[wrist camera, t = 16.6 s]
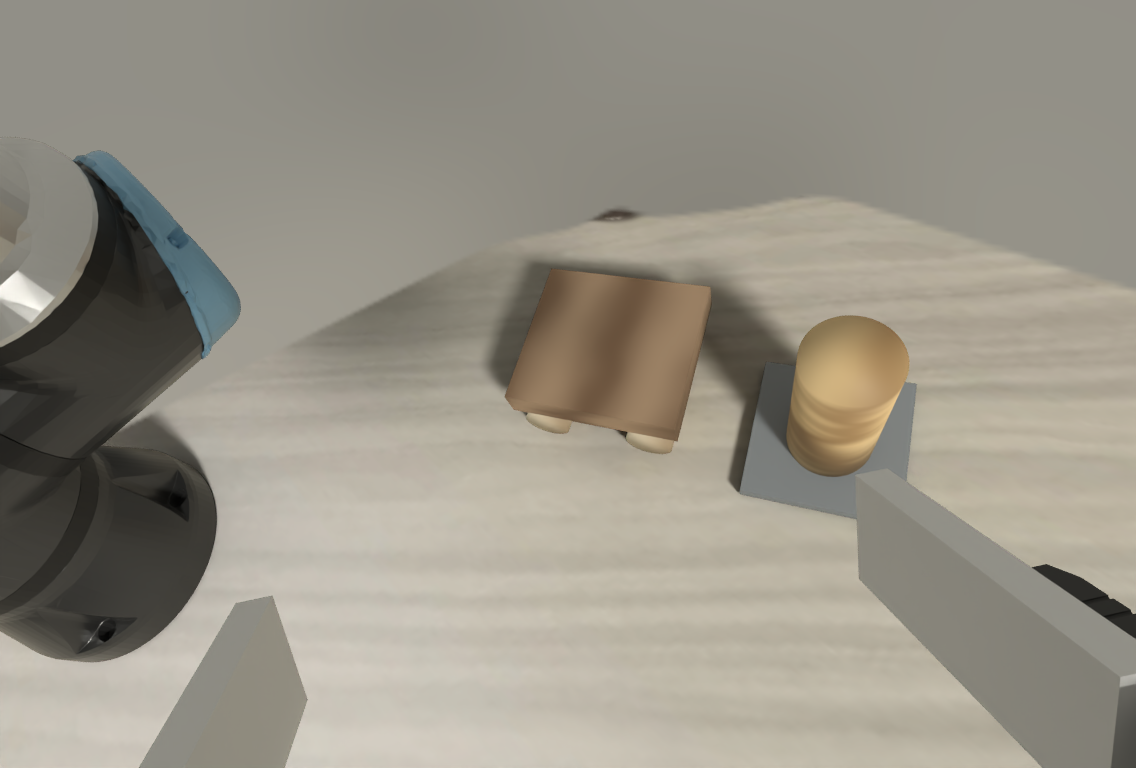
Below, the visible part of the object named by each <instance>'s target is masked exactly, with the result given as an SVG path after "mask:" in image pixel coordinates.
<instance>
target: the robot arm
mask: <svg viewBox="0 0 1136 768" xmlns="http://www.w3.org/2000/svg"><path fill="white" fill-rule="evenodd" d="M240 308H241V306H240V299H239V297H238V294H237V292H236V291H235V289H234V288H233V286H232V285H231V284H230V282H228V280H227V278H226V277H225V276H224V275H223V274H222V272H221V271H220V270H219V269H218V267H217V266H216V265H215V264H214V263H213V262H212V260H211V259H210V258H209V257H208V256H207V255H206V254H205V252H204V251H203V250H202V249H201V248H200V247H199V246H198V245H197V243H196V242H195V241H194V240H193V239H192V238H191V237H190V236H189V235H187V234H186V233H185V232H184V231H183V228H182V227H181V226H180V225H179V224H178V223H177V222H176V221H175V220H174V219H173V217H172V216H171V215H170V213H169V212H167V210H166V209H165V208H164V207H163V206H162V205H161V204H160V203H159V202H158V200H156V198H155V197H154V196H153V195H152V194H151V193H150V192H149V191H148V190H147V189H146V188H145V187H144V186H143V185H142V184H141V183H140V182H139V181H138V180H137V179H136V178H135V177H134V176H133V175H132V174H131V173H130V172H129V171H128V170H127V169H126V168H125V167H124V166H123V165H122V164H121V163H120V162H119V161H118V160H117V159H115V158H114V157H113V156H112V155H110V154H109V153H107V152H103V151H93V152H91V153H89V154H87V155H82V156H77V157H76V158H75V159H74V160H73V161H72V160H71V159H70V158H68V157H67V156H66V155H64V154H63V153H61V152H59V151H57V150H56V149H54V148H52V147H50V146H48V145H46V144H44V143H41V142H38V141H34V140H31V139H24V138H16V137H0V631H1V632H3V633H4V634H6V635H8V636H10V637H11V638H13V639H15V640H16V641H18V642H20V643H22V644H23V645H25V646H27V647H28V648H30V649H32V650H34V651H35V652H37V653H39V654H42V655H44V656H47V657H51V658H55V659H61V660H70V661H80V662H101V661H107V660H111V659H114V658H117V657H120V656H123V655H125V654H128V653H130V652H132V651H134V650H135V649H137V648H139V647H141V646H142V645H144V644H145V643H147V642H148V641H150V640H151V639H152V638H153V637H155V636H156V635H157V634H158V633H160V632H161V631H162V630H163V629H164V628H165V627H166V626H167V625H168V624H169V623H170V622H171V621H172V620H173V619H174V618H175V617H176V616H177V614H178V613H179V612H180V611H181V610H182V608H183V607H184V606H185V604H186V603H187V602H188V600H189V599H190V597H191V596H192V594H193V593H194V591H195V589H196V588H197V586H198V584H199V582H200V580H201V578H202V576H203V574H204V572H205V569H206V567H207V564H208V561H209V558H210V555H211V552H212V548H213V544H214V538H215V531H216V510H215V504H214V499H213V496H212V493H211V490H210V488H209V486H208V484H207V482H206V481H205V479H204V478H203V477H202V476H201V474H200V473H199V472H198V471H197V470H195V469H194V468H193V467H191V466H190V465H188V464H186V463H184V462H182V461H180V460H178V459H176V458H173V457H171V456H169V455H167V454H165V453H162V452H158V451H154V450H150V449H140V448H126V447H112V446H101V445H102V444H104V443H105V442H106V441H107V440H108V439H109V438H111V437H112V436H113V435H114V434H115V433H116V432H117V431H119V430H120V429H121V428H122V427H123V426H124V425H126V424H127V423H128V422H129V421H130V420H131V419H133V418H134V417H135V416H136V415H137V414H138V413H139V412H140V411H142V410H143V409H144V408H145V407H146V406H147V405H149V404H150V403H151V402H152V401H153V400H154V399H156V398H157V397H158V396H159V395H160V394H161V393H163V392H164V391H165V390H166V389H167V388H168V387H169V386H171V385H172V384H173V383H174V382H175V381H176V380H178V379H179V378H180V377H181V376H182V375H183V374H184V373H185V372H187V371H188V370H189V369H190V368H191V367H193V366H194V365H195V364H196V363H197V362H198V361H199V360H201V359H204V358H205V357H206V356H207V355H208V354H209V353H210V351H211V347H212V346H213V345H214V344H215V343H216V342H217V341H218V340H219V339H220V338H221V337H222V336H223V335H224V334H225V333H226V332H227V331H228V330H229V329H230V328H231V327H232V326H233V325H234V324H235V322H236V321H237V319H238V317H239V315H240V310H241V309H240ZM855 480H856V509H857V539H858V568H859V579H860V580H861V581H862V582H863V583H864V584H865V585H866V586H867V587H868V589H869V590H870V591H871V592H872V593H873V594H874V595H875V596H876V597H877V598H878V599H879V600H880V601H881V602H882V603H883V604H884V605H885V606H886V607H887V608H888V609H889V610H890V611H891V612H892V613H893V614H894V615H895V616H896V617H897V618H898V619H899V620H900V621H901V622H902V624H903V625H904V626H905V627H906V628H907V629H908V630H909V631H910V632H911V633H912V634H913V635H914V636H915V637H916V638H917V639H918V640H919V641H920V642H921V643H922V644H923V645H924V646H925V647H926V648H927V649H928V650H929V651H930V652H931V653H932V654H933V655H934V656H935V657H936V659H937V660H938V661H939V662H940V663H941V664H942V665H943V666H944V667H945V668H946V669H947V670H948V671H949V672H950V673H951V674H952V675H953V676H954V677H955V678H956V679H957V680H958V681H959V682H960V683H961V684H962V685H963V686H964V687H965V688H966V689H967V690H968V691H969V692H970V694H971V695H972V696H973V697H974V698H975V699H976V700H977V701H978V702H979V703H980V704H981V705H982V706H983V707H984V708H985V709H986V710H987V711H988V712H989V713H990V714H991V715H992V716H993V717H994V718H995V719H996V720H997V721H998V722H999V723H1000V724H1001V725H1002V726H1003V727H1004V729H1005V730H1006V731H1007V732H1008V733H1009V734H1010V735H1011V736H1012V737H1013V738H1014V739H1015V740H1016V741H1017V742H1018V743H1019V744H1020V745H1021V746H1022V747H1023V748H1024V749H1025V750H1026V751H1027V752H1028V753H1029V754H1030V755H1031V756H1032V757H1033V758H1034V759H1035V760H1036V761H1037V762H1038V764H1039V765H1040V766H1041V767H1042V768H1136V614H1132V612H1131V610H1130V609H1129V608H1127V607H1126V606H1124V605H1123V604H1121V603H1119V602H1118V601H1116V600H1115V599H1109V597H1108V595H1107V594H1106V593H1104V592H1102V591H1101V590H1099V589H1098V588H1096V587H1095V586H1093V585H1092V584H1090V583H1089V582H1087V581H1085V580H1084V579H1082V578H1081V577H1078V576H1076V575H1073V574H1071V573H1068V572H1065V571H1063V570H1060V569H1058V568H1055V567H1052V566H1050V565H1047V564H1045V565H1041V566H1036V567H1032V568H1031V567H1030V566H1028V565H1027V564H1026V563H1024V562H1023V561H1021V560H1020V559H1018V558H1017V557H1015V556H1014V555H1012V554H1011V553H1010V552H1008V551H1007V550H1005V549H1004V548H1002V547H1001V546H999V545H998V544H996V543H995V542H994V541H992V540H991V539H989V538H988V537H986V536H985V535H983V534H982V533H980V532H979V531H978V530H976V529H975V528H973V527H972V526H970V525H969V524H967V523H966V522H964V521H963V520H962V519H960V518H959V517H957V516H956V515H954V514H953V513H951V512H950V511H948V510H947V509H946V508H944V507H943V506H941V505H940V504H938V503H937V502H935V501H934V500H932V499H931V498H930V497H928V496H927V495H925V494H924V493H922V492H921V491H919V490H918V489H916V488H915V487H913V486H912V485H911V484H909V483H908V482H906V481H905V480H903V479H902V478H900V477H899V476H897V475H896V474H895V473H893V472H892V471H890V470H889V469H887V468H886V469H882V470H877V471H872V472H867V473H862V474H857V475H855ZM307 700H308V699H307V697H306V694H305V691H304V688H303V685H302V682H301V679H300V676H299V673H298V670H297V667H296V664H295V661H294V658H293V655H292V652H291V649H290V646H289V643H288V640H287V637H286V634H285V632H284V629H283V626H282V623H281V620H280V617H279V614H278V611H277V608H276V605H275V602H274V599H273V596H269V597H264V598H259V599H254V600H250V601H245V602H240V603H236V604H235V606H234V607H233V609H232V611H231V613H230V614H229V616H228V618H227V619H226V621H225V623H224V624H223V626H222V628H221V629H220V631H219V633H218V635H217V636H216V638H215V640H214V641H213V643H212V645H211V646H210V648H209V650H208V652H207V653H206V655H205V657H204V658H203V660H202V662H201V663H200V665H199V667H198V668H197V670H196V672H195V674H194V675H193V677H192V679H191V680H190V682H189V684H188V685H187V687H186V689H185V690H184V692H183V694H182V696H181V697H180V699H179V701H178V702H177V704H176V706H175V707H174V709H173V711H172V713H171V714H170V716H169V718H168V719H167V721H166V723H165V724H164V726H163V728H162V729H161V731H160V733H159V735H158V736H157V738H156V740H155V741H154V743H153V745H152V746H151V748H150V750H149V751H148V753H147V755H146V757H145V758H144V760H143V762H142V763H141V765H140V767H139V768H285V765H286V762H287V759H288V756H289V753H290V750H291V747H292V744H293V741H294V738H295V735H296V732H297V729H298V726H299V723H300V720H301V717H302V714H303V711H304V708H305V706H306V703H307Z"/></svg>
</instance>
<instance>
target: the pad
mask: <svg viewBox="0 0 1136 768" xmlns="http://www.w3.org/2000/svg"><path fill="white" fill-rule="evenodd" d="M795 369H796V366H792V365H785V364H779V363H772V362H766V364H765V369H764V374H763V379H762V384H761V389H760V394H759V398H758V403H757V408H756V413H755V418H754V423H753V428H752V433H751V438H750V442H749V447H748V452H747V457H746V462H745V467H744V472H743V477H742V482H741V486H740V494H742V495H746V496H751V497H756V498H760V499H765V500H770V501H774V502H779V503H784V504H788V505H793V506H798V507H802V508H807V509H812V510H816V511H821V512H826V513H830V514H835V515H839V516H844V517H849V518H853V519H857V509H856V480H855V475H857V474H862V473H867V472H872V471H877V470H882V469H886V468H887V469H889V470H890V471H892V472H893V473H895V474H896V475H897V476H899V477H900V478H902V479H903V480H905V481H906V480H907V471H908V461H909V452H910V442H911V433H912V423H913V414H914V404H915V395H916V385H917V384H914V383H907V382H904V385H903V387H902V389H901V391H900V393H899V395H898V398H897V400H896V402H895V404H894V406H893V408H892V411H891V413H890V415H889V417H888V419H887V421H886V424H885V426H884V428H883V430H882V432H881V434H880V437H879V439H878V441H877V443H876V445H875V447H874V450H873V452H872V454H871V456H870V458H869V459H868V461H867V462H866V463H865V464H864V465H863V466H862V467H861V468H860V469H858V470H857V471H855V472H853V473H851V474H848V475H845V476H840V477H827V476H821V475H818V474H815V473H812V472H810V471H808V470H807V469H805V468H804V467H802V466H801V465H800V464H799V463H798V462H797V461H796V460H795V459H794V457H793V456H792V454H791V452H790V450H789V448H788V445H787V439H786V433H787V425H788V418H789V411H790V404H791V397H792V390H793V383H794V376H795Z"/></svg>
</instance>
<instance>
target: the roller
mask: <svg viewBox="0 0 1136 768" xmlns="http://www.w3.org/2000/svg"><path fill="white" fill-rule="evenodd" d="M908 371H909V356H908V352H907V349H906V347H905V345H904V343H903V342H902V340H901V339H900V338H899V336H898V335H897V334H896V333H895V332H894V331H893V330H891V329H890V328H889V327H887V326H886V325H884V324H882V323H880V322H878V321H876V320H873V319H870V318H867V317H861V316H839V317H834V318H831V319H828V320H825V321H823V322H821V323H819V324H818V325H816V326H815V327H813V328H812V329H811V330H810V331H809V332H808V333H807V334H806V335H805V337H804V338H803V340H802V342H801V344H800V346H799V350H798V354H797V362H796V369H795V376H794V383H793V390H792V397H791V404H790V411H789V418H788V425H787V433H786V439H787V445H788V448H789V450H790V452H791V454H792V456H793V457H794V459H795V460H796V461H797V462H798V463H799V464H800V465H801V466H802V467H804V468H805V469H807V470H808V471H810V472H812V473H815V474H818V475H821V476H827V477H840V476H845V475H848V474H851V473H853V472H855V471H857V470H858V469H860V468H861V467H862V466H863V465H864V464H865V463H866V462H867V461H868V459H869V458H870V456H871V454H872V452H873V450H874V447H875V445H876V443H877V441H878V439H879V437H880V434H881V432H882V430H883V428H884V426H885V424H886V421H887V419H888V417H889V415H890V413H891V411H892V408H893V406H894V404H895V402H896V400H897V398H898V395H899V393H900V391H901V389H902V387H903V385H904V382H905V380H906V378H907V375H908Z"/></svg>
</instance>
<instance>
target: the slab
mask: <svg viewBox="0 0 1136 768" xmlns="http://www.w3.org/2000/svg"><path fill="white" fill-rule="evenodd" d="M711 305H712V302H711V290H710V287H707V286H699V285H690V284H681V283H673V282H664V281H655V280H647V279H638V278H629V277H621V276H612V275H603V274H595V273H586V272H577V271H569V270H560V269H551V271H550V274H549V277H548V279H547V282H546V285H545V287H544V290H543V293H542V296H541V298H540V301H539V304H538V307H537V309H536V312H535V315H534V318H533V320H532V323H531V326H530V329H529V331H528V334H527V337H526V339H525V342H524V345H523V348H522V350H521V353H520V356H519V359H518V361H517V364H516V367H515V370H514V372H513V375H512V378H511V381H510V383H509V386H508V389H507V391H506V394H505V398H506V399H507V401H508V402H509V404H510V405H511V406H512V408H513V409H514V410H518V411H523V412H528V414H527V417H526V419H527V420H528V422H530V423H531V424H532V425H534V426H536V427H538V428H540V429H542V430H545V431H548V432H552V433H559V434H564V433H567V432H569V429H570V426H571V423H572V421H575V422H580V423H585V424H590V425H595V426H600V427H605V428H610V429H616V430H621V431H626V432H627V435H626V441H627V442H628V443H629V444H631V445H632V446H634V447H636V448H638V449H641V450H643V451H647V452H651V453H657V454H666V453H670V452H671V451H672V447H673V443H674V441H678V437H679V433H680V429H681V425H682V421H683V417H684V413H685V409H686V405H687V401H688V397H689V393H690V389H691V385H692V381H693V377H694V373H695V369H696V365H697V361H698V357H699V353H700V349H701V345H702V341H703V337H704V333H705V329H706V325H707V321H708V317H709V313H710V309H711Z"/></svg>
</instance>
